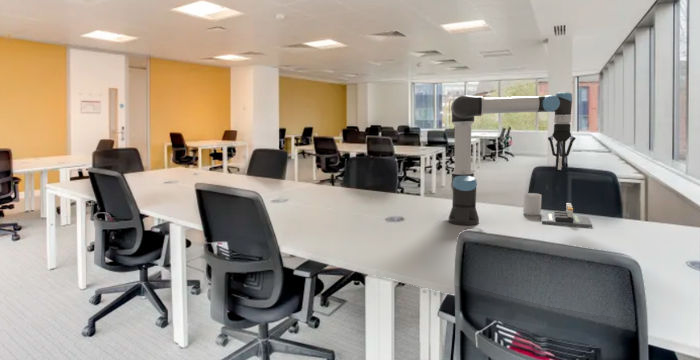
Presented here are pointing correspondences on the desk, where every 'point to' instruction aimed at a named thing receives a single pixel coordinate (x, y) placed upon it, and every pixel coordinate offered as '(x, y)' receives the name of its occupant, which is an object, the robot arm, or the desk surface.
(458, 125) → the robot arm
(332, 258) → the desk surface
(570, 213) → the block
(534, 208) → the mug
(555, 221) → the panel
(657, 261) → the desk surface
